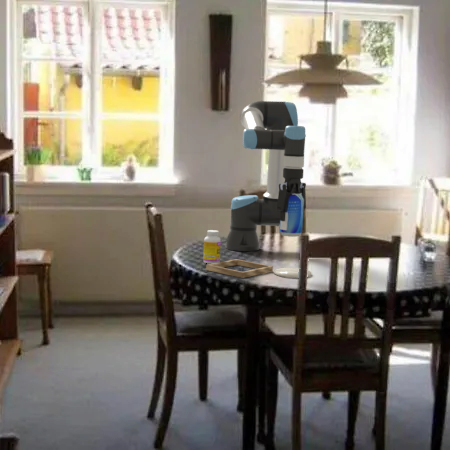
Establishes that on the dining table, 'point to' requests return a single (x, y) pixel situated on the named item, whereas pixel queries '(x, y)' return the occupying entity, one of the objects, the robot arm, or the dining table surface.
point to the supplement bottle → (212, 247)
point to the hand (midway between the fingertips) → (290, 228)
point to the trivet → (288, 272)
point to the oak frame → (258, 267)
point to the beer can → (294, 216)
